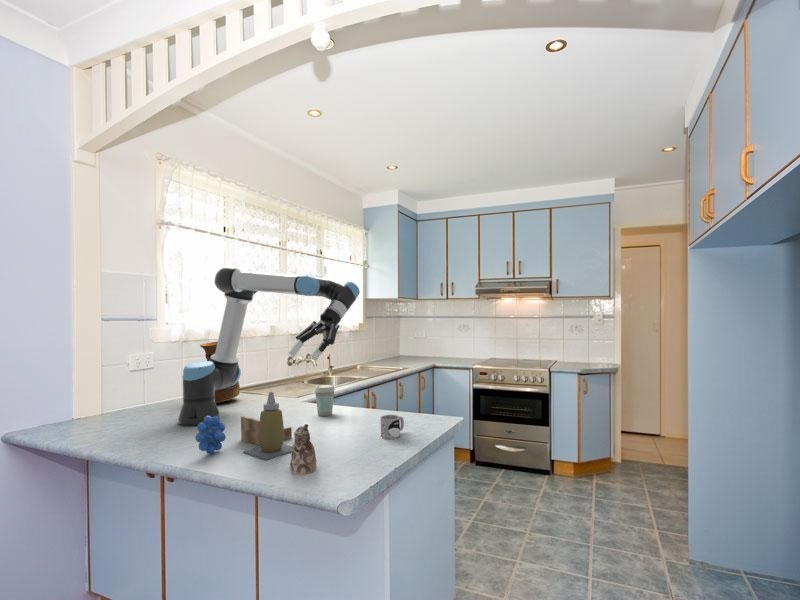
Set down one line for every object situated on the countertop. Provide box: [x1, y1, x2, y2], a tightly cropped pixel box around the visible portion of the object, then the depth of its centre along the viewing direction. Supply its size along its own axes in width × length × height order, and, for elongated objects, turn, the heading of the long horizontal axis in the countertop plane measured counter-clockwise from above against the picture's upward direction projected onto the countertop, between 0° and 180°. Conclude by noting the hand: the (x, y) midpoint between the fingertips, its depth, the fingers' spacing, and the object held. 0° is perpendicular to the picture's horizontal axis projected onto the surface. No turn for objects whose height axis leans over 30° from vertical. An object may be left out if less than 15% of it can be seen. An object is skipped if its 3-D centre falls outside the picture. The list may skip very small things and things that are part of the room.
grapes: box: [194, 416, 227, 455], centre depth 135 cm, size 12×7×12 cm, turn 160°
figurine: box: [289, 423, 317, 475], centre depth 121 cm, size 7×7×12 cm
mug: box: [380, 414, 405, 440], centre depth 152 cm, size 10×7×7 cm
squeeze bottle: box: [258, 391, 285, 452], centre depth 137 cm, size 8×8×18 cm
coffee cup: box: [314, 384, 336, 417], centre depth 184 cm, size 8×8×12 cm
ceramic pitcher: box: [199, 341, 241, 404], centre depth 215 cm, size 20×20×30 cm
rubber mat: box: [242, 443, 293, 461], centre depth 137 cm, size 12×12×1 cm
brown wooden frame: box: [240, 415, 293, 447], centre depth 151 cm, size 12×12×8 cm
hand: (302, 356), depth 159 cm, fingers open, 13 cm apart
